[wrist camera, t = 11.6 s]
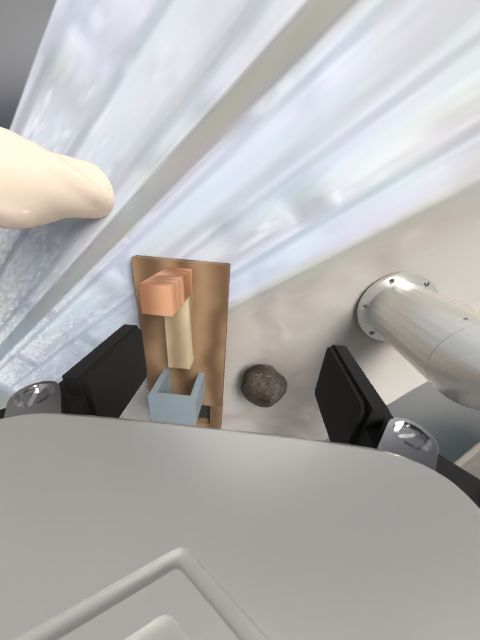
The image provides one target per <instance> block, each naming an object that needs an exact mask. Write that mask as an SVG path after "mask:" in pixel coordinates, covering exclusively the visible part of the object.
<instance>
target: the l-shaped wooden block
mask: <svg viewBox="0 0 480 640" xmlns="http://www.w3.org/2000/svg"><path fill="white" fill-rule="evenodd" d="M139 291H140V299H141V307H142V314H150V315H161V316H164V317H165V330H166V342H167V355H168V367H173V368H183V369H190V367H191V365H192V363H193V360H194V342H193V289H192V269H187V268H176V267H167V268H165V269H163V270H162V271H160V272H158V273H156V274H155V275H153V276H151V277H150V278H148V279H146V280H145V281H143V282H141V283H139Z"/></svg>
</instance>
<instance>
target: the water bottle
mask: <svg viewBox="0 0 480 640" xmlns="http://www.w3.org/2000/svg"><path fill="white" fill-rule="evenodd" d="M113 205H114V193H113V188H112V186H111V183H110V181H109V179H108V178H107V176H106V175H105V174H104V173H103V171H102V170H101V169H100V168H98V167H97V166H96V165H94V164H92V163H90V162H87V161H84V160H80V159H76V158H72V157H69V156H65V155H61V154H57V153H53V152H50V151H49V150H47V149H45V148H44V147H42V146H40V145H38V144H36V143H34V142H32V141H30V140H28V139H26V138H24V137H22V136H20V135H18V134H16V133H14V132H12V131H10V130H7V129H5V128H2V127H0V228H9V229H26V228H32V227H37V226H42V225H46V224H49V223H52V222H55V221H58V220H61V219H65V218H90V219H99V218H103V217H105V216H106V215H108V214H109V213H110V211H111V210H112V208H113Z"/></svg>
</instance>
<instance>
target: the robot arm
mask: <svg viewBox="0 0 480 640" xmlns="http://www.w3.org/2000/svg"><path fill="white" fill-rule="evenodd" d="M389 280H390V281H389ZM363 305H364V306H363ZM357 321H358V324H359V326H360V327H361V329H362V330H363V331H364V332H365V333H366V334H367V335H368V336H369V337H371V338H373V339H376V340H379V341H386V342H388V343H389V344H390V345H391V346H392V347H393V348H395V349H396V350H397V351H398V352H399V353H400V354H401V355H402V356H403V357H404V358H405V359H406V360H407V361H408V362H409V363H410V364H411V365H412V366H413V367H414V368H415V369H416V370H417V371H418V372H419V373H420V374H421V375H423V376H424V377H425V378H426V379H427V380H428V381H429V382H430V383H431V384H432V385H433V386H434V387H435V388H436V389H437V390H438V391H440V392H441V393H442V394H443V395H444V396H446V397H447V398H448V399H450V400H452V401H453V402H455V403H458V404H460V405H462V406H465V407H467V408H471V409H474V410H478V411H480V312H479V311H477V310H474V309H472V308H470V307H467V306H465V305H463V304H460V303H458V302H456V301H454V300H451V299H449V298H447V297H444V296H442V295H440V294H438V290H437V288H436V286H435V285H434V283H433V282H432V281H431V280H430V279H428V278H427V277H425V276H423V275H420V274H417V273H414V272H398V273H394V274H390V275H388V276H385V277H383V278H381V279H380V280H378V281H376V282H375V283H374V284H373V285H371V286H370V287H369V288H368V289H367V290H366V292H365V293H364V294H363V296H362V297H361V299H360V301H359V304H358V307H357ZM146 376H147V367H146V360H145V352H144V345H143V337H142V331H141V329H139V328H138V326H136V325H126V324H125V325H123V326H122V327H120V328H119V329H118V330H117V331H116V332H114V333H113V334H112V335H111V336H110V337H108V338H107V339H106V340H105V341H104V342H102V343H101V344H100V345H99V346H98V347H96V348H95V349H94V350H93V351H92V352H90V353H89V354H88V355H87V356H86V357H84V358H83V359H82V360H81V361H80V362H78V363H77V364H76V365H75V366H73V367H72V368H71V369H70V370H69V371H67V372H66V373H65V374H64V375H63V376H62V378H63V380H62V381H61V382H60V383H57V382H54V381H42V382H38V383H34V384H31V385H28V386H26V387H24V388H22V389H20V390H19V391H17V392H16V393H14V394H13V395H12V396H11V397H10V399H9V400H8V402H7V406H6V408H4V409H1V410H0V640H480V442H479V443H478V444H477V445H475V446H474V447H473V448H472V449H470V450H469V451H468V452H467V453H465V454H464V455H463V456H462V457H461V458H460V459H459V460H457V461H456V462H455V463H452V462H450V461H449V460H447V459H446V458H444V457H442V456H441V455H439V454H438V445H437V443H436V441H435V439H434V438H433V437H432V436H431V435H430V434H429V433H428V432H427V431H426V430H425V429H424V428H422V427H421V426H419V425H418V424H416V423H414V422H412V421H409V420H407V419H403V418H393V416H392V415H391V414H390V412H389V409H388V408H387V406H386V405H385V403H384V402H383V400H382V399H381V397H380V396H379V395H378V393H377V392H376V390H375V389H374V387H373V386H372V384H371V383H370V381H369V380H368V378H367V377H366V375H365V374H364V373H363V371H362V370H361V368H360V367H359V365H358V364H357V362H356V361H355V359H354V358H353V356H352V355H351V353H350V352H349V351H348V349H347V348H346V347H345V346H340V345H332V346H331V347H328V348H327V351H326V354H325V357H324V361H323V364H322V368H321V371H320V375H319V378H318V382H317V385H316V388H315V396H316V399H317V402H318V405H319V408H320V412H321V415H322V418H323V421H324V424H325V427H326V430H327V433H328V436H329V439H330V442H329V441H321V440H313V439H305V438H296V437H288V436H279V435H271V434H262V433H253V432H244V431H235V430H226V429H217V428H208V427H199V426H190V425H181V424H171V423H162V422H152V421H142V420H133V419H123V418H119V417H120V415H121V414H122V412H123V411H124V409H125V408H126V406H127V405H128V403H129V402H130V400H131V399H132V398H133V396H134V395H135V393H136V392H137V390H138V389H139V387H140V386H141V384H142V383H143V381H144V380H145V378H146Z"/></svg>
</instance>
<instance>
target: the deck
mask: <svg viewBox="0 0 480 640" xmlns="http://www.w3.org/2000/svg"><path fill="white" fill-rule="evenodd" d="M131 261H132V268H133V276H134V283H135V291H136V298H137V305H138V313H139V320H140V328H141V331H142V337H143V345H144V352H145V360H146V367H147V379H148V387H149V393H150V391H151V390H152V388H153V386H154V385H155V383H156V381H157V380H158V378H159V376H160V375H161V373H162V371H163V370H164V369H170V378H171V390H172V392H171V394H178V395H188V396H190V395H191V393H192V390H193V387H194V384H195V382H196V379H197V376H198V373H199V372H201V373H205V395H204V399H203V402H202V406H201V409H200V413H199V416H198V420H197V423H196V426H199V427H208V428H217V429H221V423H222V405H223V387H224V369H225V351H226V333H227V315H228V297H229V279H230V264H229V263H218V262H207V261H196V260H185V259H173V258H162V257H151V256H140V255H136V256H133V257H131ZM167 267H176V268H187V269H192V289H193V342H194V360H193V363H192V365H191V367H190V369H183V368H173V367H168V355H167V342H166V330H165V317H164V316H161V315H150V314H142V307H141V299H140V291H139V283H141V282H143V281H145V280H146V279H148V278H150V277H151V276H153V275H155V274H156V273H158V272H160V271H162V270H163V269H165V268H167ZM153 422H157V421H153ZM162 423H166V422H162ZM171 424H175V423H171ZM181 425H184V424H181ZM190 426H193V425H190Z"/></svg>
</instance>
